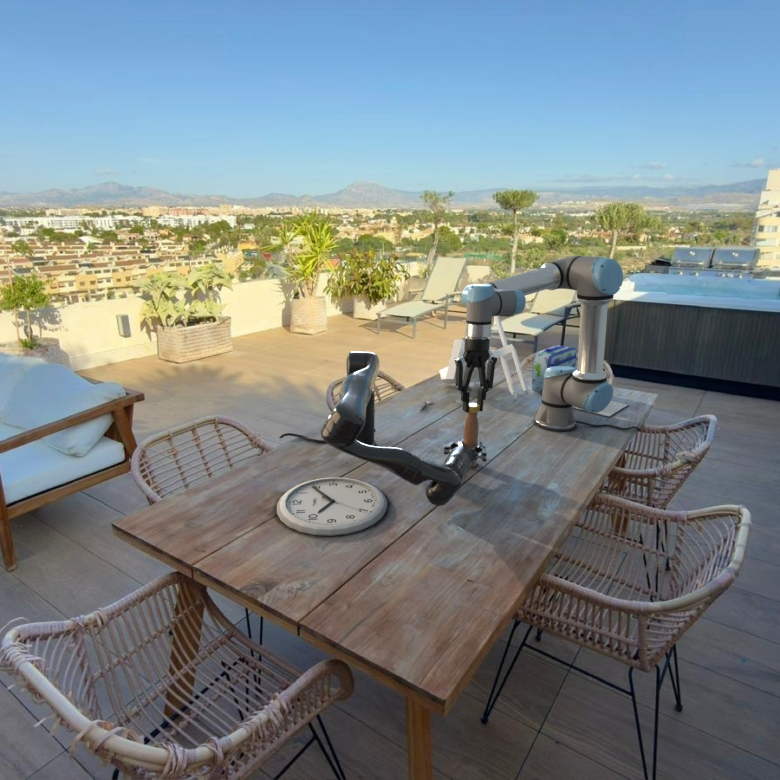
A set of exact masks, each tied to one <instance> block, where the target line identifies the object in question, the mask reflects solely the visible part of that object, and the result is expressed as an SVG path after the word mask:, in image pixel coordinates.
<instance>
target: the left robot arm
mask: <svg viewBox="0 0 780 780" xmlns="http://www.w3.org/2000/svg"><path fill="white" fill-rule="evenodd" d="M345 361H346V362H345V367H346V377H345V378H344V379H343V381H342V383H341V386H340V387H339V392H338V398H339V401H338V403H337V404H335V406H334V407H333V409H332V410H331V411H330V413H329V415H328V416H327V418H326V419H325V421H324V423H323V424H322V426H321V428H320V436H321V438H322V439H314V438H309V437H308V436H305V435H303V434H298V433H292V432H286V433H285V432H284V433H283V434H281V435H280V436H279V437H278V439H283V438H284V437H287V436H289V437H296V438H301V439H304V440H306V441H308V442H313V443H318V444H324V443H325V444H328V445H329V446H331V447H332V448H333V449H336V450H338V451H340V452H342V453H345V454H348V455H350V456H352V457H354V458H357V459H360V460H362V461H365V462H367V463H370V464H372V465H375V466H378V467H380V468H382V469H384V470H386V471H388V472H390V473H392V474H394V475H396V477H399V478H401V479H403V480H404V481H405V482H407V483H409V484H411V485H413V486H419V485H421V484H422V483H424V482H426V481H430V482H429V483H428V484H427V485H426V488H425V496H426V499H427V500H428V502H429V503H430V504H431V505H433V506H436V507H443V506H446V505H447V504H448V503H449V502H451V500H452V498H454V496H456V494H457V492H458V491H460V490H461V488H462V485H463V481H464V479H465V477H466V476H467V475H468V474H469V472H470V471H471V469H472V468H473V467H472V465H473V463H474V461H475V460H476V461H477V460H478V459H480V460H481V461H483V462H487V457H488V452H487V446H485V445H484V444H483V441H482V440H478V443H477V445H476V446H474V445H473V446H471V447H468V448H467V447H465V446H463V438H461V439H460V440H458V441H457V442H456V441H455V440H452V441H450V442H449V443H447V444H445V445H444V446H443V455H447V457H446V458H445V460H444V462H443V464H442V465H440V464H438V463H437V464H436V463H433V462H429V461H426V460H424V459H423V458H421V457H419V456H417V455H415V454H414V453H413V452H411V451H408V450H407V449H405V448H401V447H395V446H379V445H378V446H377V445H375V443H376V442H375V433H376V428H375V418H376V417H375V414H376V413H375V411H376V410H375V408H376V406H375V405H376V404H375V399H376V398H375V397H376V395H375V394H376V392H375V390H374V389H373V388H374V384H375V382H376V380H377V377H378V375H379V371H380V366H381V365H380V362H381V361H380V358H379V356H378V354H377V353H375V352H373V351H349V352H348V354H347V355H346V359H345Z"/></svg>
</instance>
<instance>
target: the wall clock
mask: <svg viewBox="0 0 780 780" xmlns="http://www.w3.org/2000/svg"><path fill="white" fill-rule="evenodd" d="M387 509H388V500H387V498H386V496H385V494H384V493H383V492H382V491H381V490H380V489H379V488H377V487H376V486H374V485H372V484H371V483H369V482H365V481H362V480H359V479H355V478H349V477H338V476H337V477H335V476H333V477H332V476H331V477H322V478H317V479H312V480H307V481H305V482H302V483H299V484H297V485H295V486H293V487H292V488H290V489H288V490H287V491H286V492H285V493H284V494H283V495H281V496H280V498H279V499H278V502H277V503H276V515H277V517H278V518H279V520H280V521H281V522H282V523H283V524H285V525H286V526H287V527H288V528H290V529H293V530H295V531H297V532H299V533H303V534H308V535H312V536H327V537H328V536H329V537H331V536H332V537H333V536H342V535H350V534H352V533H356V532H361V531H363V530H366V529H368V528H369V527H372V526H373V525H375V524H376V523H378V522H379V521H380V520H381V519H382V518H383V517H384V516H385V514H386V512H387Z"/></svg>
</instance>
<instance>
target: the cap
mask: <svg viewBox="0 0 780 780" xmlns="http://www.w3.org/2000/svg"><path fill="white" fill-rule="evenodd" d="M468 412H473V413H475V412H477V413H479V412H481V411H480V405H479V404H477V402H469V411H468Z"/></svg>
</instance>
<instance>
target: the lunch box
mask: <svg viewBox="0 0 780 780" xmlns="http://www.w3.org/2000/svg"><path fill="white" fill-rule="evenodd" d="M576 362H577V348H576V347H571V346H565V345H553V346H550V347H546V348H545V349H542V350H539V351H538V352H537V353H536V354H535V356H534V358H533V365H532V376H531V377H532V378H531V390H532V391H533V392H537V393H541V394H542V390H543V379H544V374H545V370H546V369H547V368H549V367H555V366H569V367H575V368H576V364H577V363H576Z"/></svg>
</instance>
